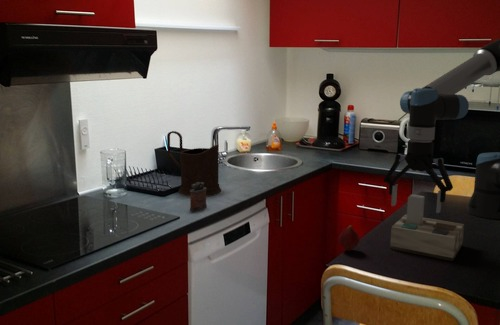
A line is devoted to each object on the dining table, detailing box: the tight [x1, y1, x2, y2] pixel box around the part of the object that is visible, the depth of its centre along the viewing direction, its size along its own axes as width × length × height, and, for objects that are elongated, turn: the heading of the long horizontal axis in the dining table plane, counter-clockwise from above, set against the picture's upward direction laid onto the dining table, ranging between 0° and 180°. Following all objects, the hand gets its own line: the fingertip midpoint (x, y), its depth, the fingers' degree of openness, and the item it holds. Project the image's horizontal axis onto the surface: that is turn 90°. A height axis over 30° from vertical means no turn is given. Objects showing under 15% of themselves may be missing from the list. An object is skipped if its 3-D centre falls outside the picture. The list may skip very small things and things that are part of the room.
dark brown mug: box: [166, 130, 223, 197], centre depth 224 cm, size 18×24×25 cm
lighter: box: [189, 182, 208, 212], centre depth 198 cm, size 8×3×10 cm, turn 145°
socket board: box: [389, 214, 465, 262], centre depth 161 cm, size 15×18×7 cm
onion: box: [338, 225, 360, 252], centre depth 157 cm, size 6×6×8 cm
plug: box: [406, 194, 426, 226], centre depth 163 cm, size 4×4×14 cm
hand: (415, 208), depth 163 cm, fingers open, 13 cm apart
